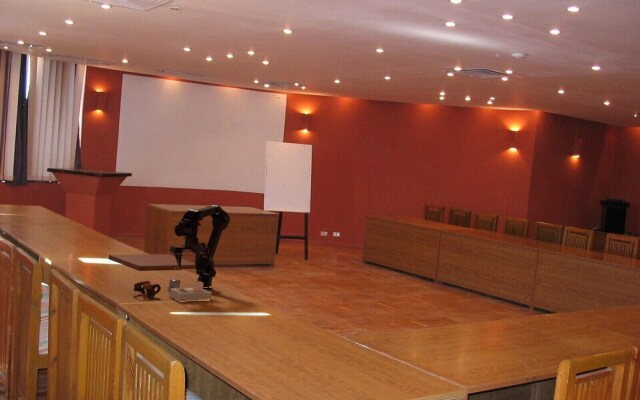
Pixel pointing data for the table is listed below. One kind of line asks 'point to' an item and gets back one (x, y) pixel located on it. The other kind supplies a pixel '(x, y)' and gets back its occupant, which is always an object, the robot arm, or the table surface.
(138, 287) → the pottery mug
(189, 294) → the socket block
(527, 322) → the table surface
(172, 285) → the round dowel
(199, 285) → the square peg
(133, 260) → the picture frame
